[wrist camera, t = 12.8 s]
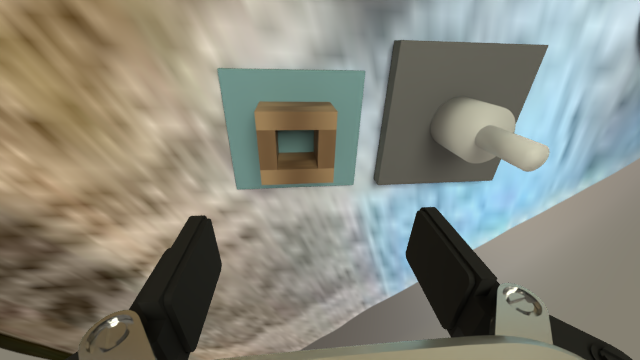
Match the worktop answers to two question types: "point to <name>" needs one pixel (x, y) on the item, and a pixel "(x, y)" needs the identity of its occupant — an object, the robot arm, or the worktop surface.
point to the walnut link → (296, 164)
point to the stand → (456, 112)
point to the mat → (290, 86)
